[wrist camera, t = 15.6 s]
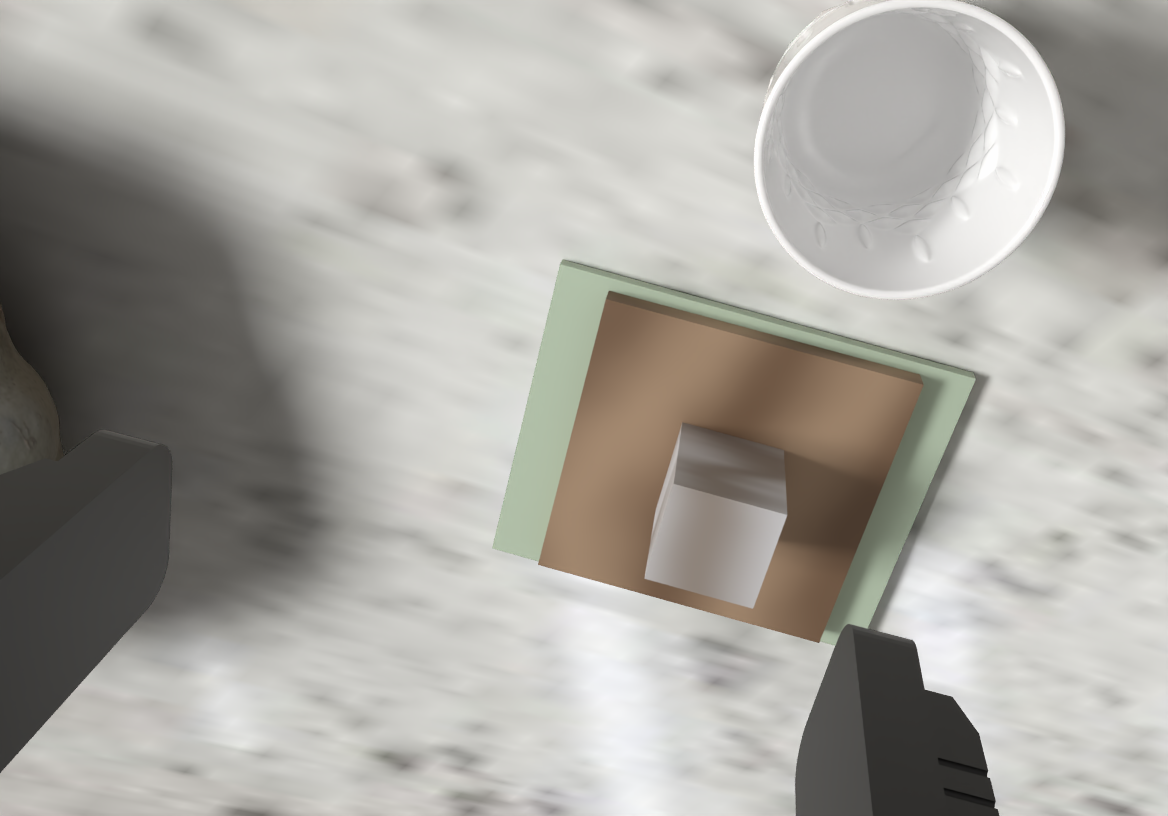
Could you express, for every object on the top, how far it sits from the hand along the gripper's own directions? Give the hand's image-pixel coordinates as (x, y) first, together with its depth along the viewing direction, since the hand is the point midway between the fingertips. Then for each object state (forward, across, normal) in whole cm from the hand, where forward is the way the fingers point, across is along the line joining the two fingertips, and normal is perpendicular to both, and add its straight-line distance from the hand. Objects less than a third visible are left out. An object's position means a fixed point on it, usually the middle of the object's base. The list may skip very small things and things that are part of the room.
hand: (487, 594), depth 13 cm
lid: (+29, -4, +12) cm, 32 cm away
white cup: (+30, -6, -2) cm, 30 cm away
